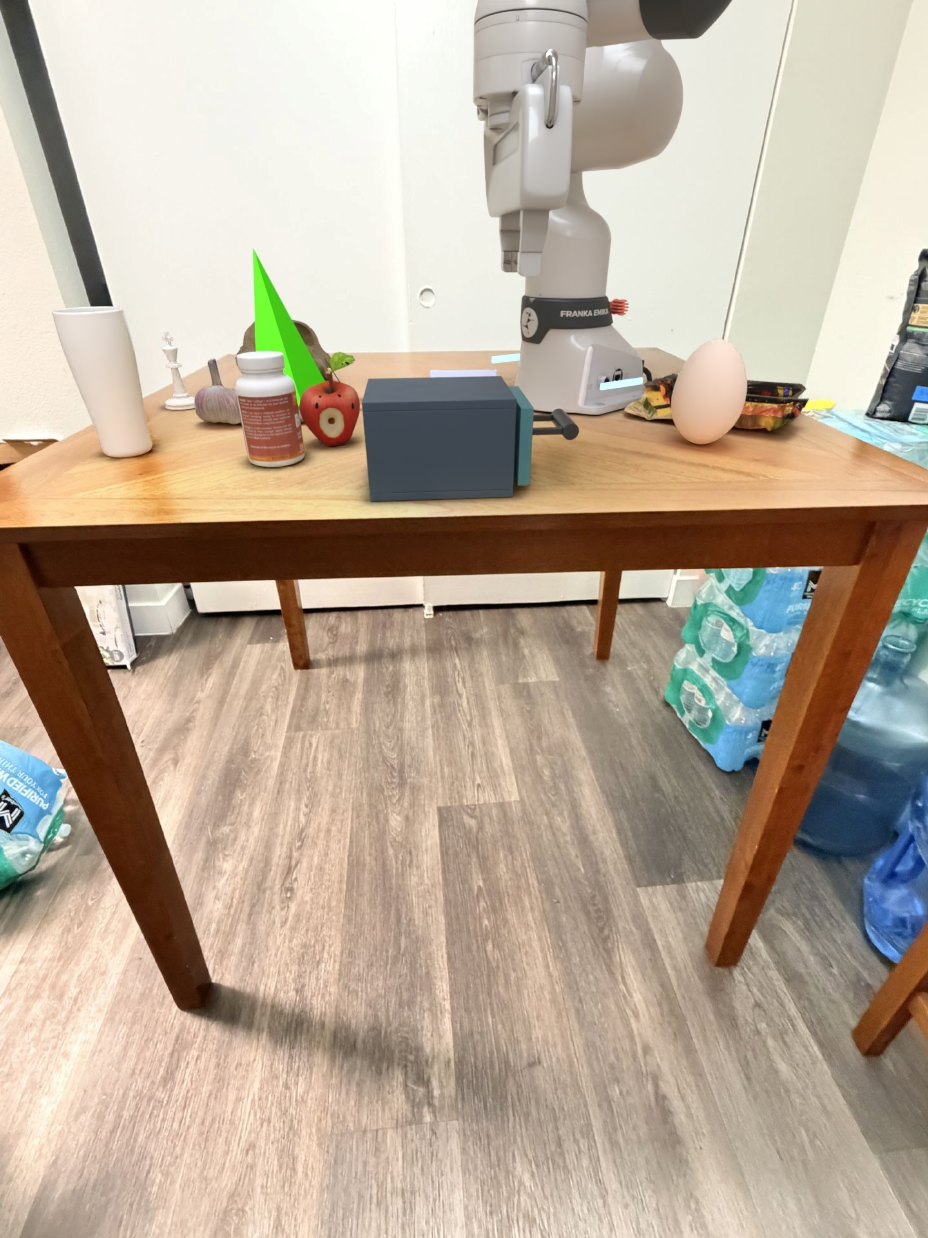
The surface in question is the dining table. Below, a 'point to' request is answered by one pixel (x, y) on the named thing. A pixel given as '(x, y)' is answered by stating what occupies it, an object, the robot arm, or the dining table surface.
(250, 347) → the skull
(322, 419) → the apple
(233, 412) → the garlic bulb
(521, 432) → the drawer
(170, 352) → the chess piece
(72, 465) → the dining table surface
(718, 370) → the egg
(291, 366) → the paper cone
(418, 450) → the cabinet
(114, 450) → the drinking glass
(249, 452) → the pill bottle
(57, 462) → the dining table surface
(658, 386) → the food
